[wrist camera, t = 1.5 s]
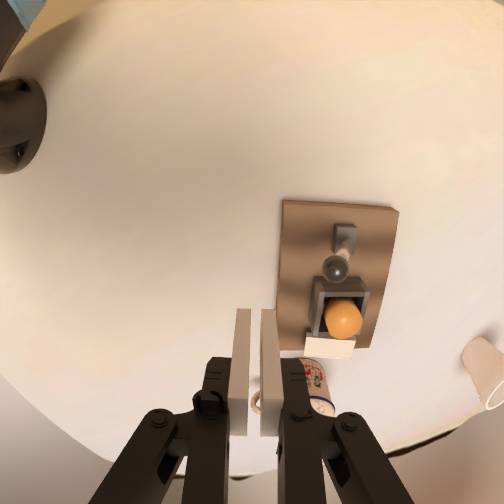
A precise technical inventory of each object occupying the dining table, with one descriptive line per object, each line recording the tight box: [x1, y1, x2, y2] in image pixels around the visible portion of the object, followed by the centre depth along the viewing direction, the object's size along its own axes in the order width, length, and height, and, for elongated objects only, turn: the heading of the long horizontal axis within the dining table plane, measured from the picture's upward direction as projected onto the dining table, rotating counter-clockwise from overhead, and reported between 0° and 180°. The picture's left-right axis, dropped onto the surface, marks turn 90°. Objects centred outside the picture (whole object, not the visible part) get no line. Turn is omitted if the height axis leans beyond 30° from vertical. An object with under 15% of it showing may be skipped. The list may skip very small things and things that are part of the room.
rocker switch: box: [303, 332, 356, 360], centre depth 36 cm, size 3×6×1 cm, turn 89°
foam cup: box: [461, 337, 504, 410], centre depth 37 cm, size 10×9×13 cm
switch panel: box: [276, 200, 399, 350], centre depth 35 cm, size 20×14×6 cm
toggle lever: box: [322, 239, 354, 283], centre depth 27 cm, size 2×2×9 cm
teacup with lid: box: [251, 359, 335, 417], centre depth 39 cm, size 12×9×12 cm
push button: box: [323, 297, 363, 339], centre depth 32 cm, size 4×4×3 cm
